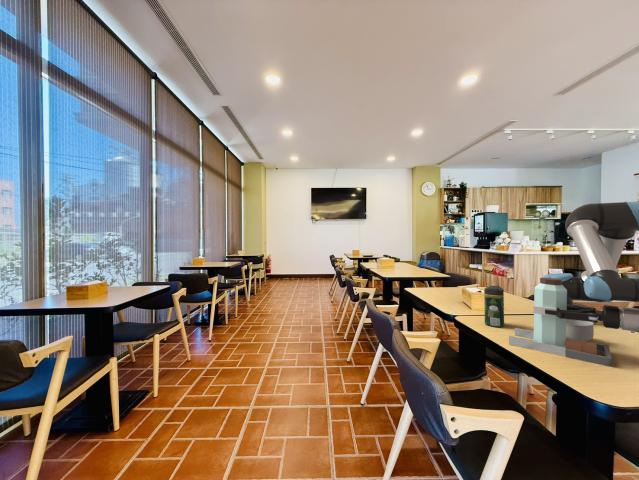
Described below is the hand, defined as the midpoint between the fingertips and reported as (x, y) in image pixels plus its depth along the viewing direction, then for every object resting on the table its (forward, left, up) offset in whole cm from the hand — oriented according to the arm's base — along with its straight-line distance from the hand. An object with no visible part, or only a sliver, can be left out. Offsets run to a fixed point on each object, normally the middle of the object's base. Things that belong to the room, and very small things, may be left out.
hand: (535, 307), depth 108 cm
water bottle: (-4, +2, -14) cm, 14 cm away
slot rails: (-1, 0, -14) cm, 14 cm away
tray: (-12, +7, -14) cm, 20 cm away
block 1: (-9, +6, -15) cm, 18 cm away
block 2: (-13, +7, -15) cm, 21 cm away
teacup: (-18, -10, -15) cm, 25 cm away
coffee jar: (+6, -24, -15) cm, 29 cm away
